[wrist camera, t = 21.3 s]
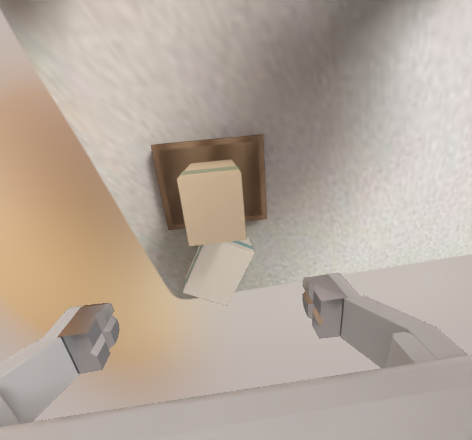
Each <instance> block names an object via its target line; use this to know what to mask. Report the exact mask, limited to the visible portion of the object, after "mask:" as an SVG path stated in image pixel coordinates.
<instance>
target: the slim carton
mask: <svg viewBox="0 0 472 440" xmlns="http://www.w3.org/2000/svg"><path fill="white" fill-rule="evenodd" d="M177 183H178V188H179V194H180V199H181V205H182V210H183V216H184V221H185V227H186V232H187V238H188V244H189V246H197V245H205V244H214V243H222V242H231V241H239V240H246V228H245V216H244V203H243V190H242V178H241V172H240V170H239V168H238V167H237V166H236V165H235V164H234V162H233V161H232V159H230V160H220V161H210V162H200V163H191V164H190V165H189V166H188V167H187V168H186V169H185V170H184V171H183V172H182V173H181V174H180V176H179V177H178V178H177Z"/></svg>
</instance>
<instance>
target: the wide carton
mask: <svg viewBox="0 0 472 440" xmlns="http://www.w3.org/2000/svg"><path fill="white" fill-rule="evenodd" d="M254 254H255V253H254V249H253V246H252V244H251V241H250V239H247V238H246V240H239V241H231V242H222V243H214V244H205V245H199V247H198V249H197V252H196V254H195V256H194V258H193V261H192V263H191V265H190V268H189V270H188V272H187V274H186V279H185V283H184V287H183V288H184V289H183V293H186V294H189V295H192V296H196V297H199V298H202V299H205V300H209V301H212V302H216V303H219V304H222V305H225V306H227V305H228V303H229V301H230V299H231V298H232V296H233V294H234V292H235V290H236V288H237V286H238V284H239V282H240V280H241V279H242V277H243V275H244V273H245V271H246V269H247V267H248V265H249V263H250V261H251V260H252V258H253V256H254Z"/></svg>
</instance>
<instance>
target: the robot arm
mask: <svg viewBox="0 0 472 440" xmlns="http://www.w3.org/2000/svg"><path fill="white" fill-rule="evenodd" d="M303 287H304V289H305V292H304V293H303V305H304V309H305V312H306V314H307V316H308V317H309V318H311V319H312V326H313V328H314V330H315V331H316V333H317V335H318V337H319V338H328V337H338V336H341V338H342V339H343V340H345V341H346V342H347V343H349V344H350V345H351V346H353V347H354V348H355V349H357V350H358V351H359V352H361V353H362V354H364V355H365V356H366V357H367V358H369V359H370V360H371V361H373V362H374V363H375V364H377V365H378V366H379V367H380V368H381V369H375V370H369V371H362V372H356V373H349V374H343V375H336V376H329V377H323V378H316V379H309V380H303V381H296V382H290V383H283V384H277V385H270V386H263V387H257V388H250V389H244V390H237V391H231V392H224V393H217V394H211V395H204V396H198V397H191V398H185V399H178V400H172V401H166V402H159V403H152V404H146V405H139V406H132V407H126V408H120V409H113V410H106V411H100V412H93V413H87V414H80V415H74V416H67V417H60V418H54V419H48V420H41V421H34V420H35V418H36V417H38V416H39V415H40V413H42V412H43V410H44V409H46V407H47V406H49V404H50V403H51V402H53V400H55V399H56V398H57V397H58V395H59V394H61V393H62V392H63V391H64V390H65V388H67V386H68V385H69V384H70V383H72V382H73V380H75V379H76V378H77V376H78V375H79V374H81V373H87V372H92V371H98V370H103V368H104V366H105V363H106V361H107V359H108V357H109V355H110V352H109V348H111V346H113V345H114V344H115V343H116V340H117V338H118V334H119V323H118V321H117V319H116V318H115V317H114V316H112V314H113V312H114V309H113V307H112V304H110V303H103V304H93V305H85V306H76V307H71V308H69V309H67V310H66V312H65V313H64V314H63V315H62V316H61V317H60V319H59V320H58V321H57V322H56V323H55V324H54V326H53V327H52V328H51V329H50V330H49V331H48V333H47V334H46V335H45V336H44V337H43V338H42V339H41V340H37V341H35V342H34V343H32V344H30V345H29V346H27V347H26V348H24V349H22V350H21V351H19V352H18V353H16V354H14V355H13V356H11V357H10V358H8V359H6V360H5V361H3V362H2V363H0V440H472V355H468V354H467V353H466V352H464V351H463V350H462V349H461V348H460V347H459V346H457V345H456V344H455V343H454V342H453V341H452V340H450V339H449V338H448V337H447V336H446V335H445V334H444V333H442V332H441V331H440V330H439V329H438V328H437V327H435V326H433V325H431V324H429V323H426V322H424V321H422V320H420V319H417V318H415V317H413V316H410V315H408V314H405V313H403V312H401V311H399V310H396V309H394V308H392V307H390V306H387V305H385V304H383V303H380V302H378V301H376V300H373V299H371V298H368V297H366V296H361V295H360V294H359V293H358V292H357V291H356V290H355V289H354V288H353V287H352V286H351V285H350V284H349V282H347V280H346V279H345V278H344V277H343V276H342V275H341V274H340V273H331V274H326V275H320V276H313V277H306V278H304V279H303ZM33 421H34V422H33Z"/></svg>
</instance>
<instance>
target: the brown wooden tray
mask: <svg viewBox="0 0 472 440" xmlns="http://www.w3.org/2000/svg"><path fill="white" fill-rule="evenodd" d="M151 149H152V153H153V158H154V163H155V168H156V172H157V177H158V182H159V187H160V191H161V196H162V201H163V206H164V211H165V215H166V220H167V225H168V230H173V229H182V228H186V227H185V221H184V216H183V210H182V205H181V199H180V194H179V188H178V183H177V178H178V177H179V176H180V174H181V173H182V172H183V171H184V170H185V169H186V168H187V167H188V166H189V165H190V164H191V163H200V162H210V161H220V160H230V159H232V161H233V162H234V164H235V165H236V166H237V167H238V168H239V170H240V172H241V178H242V190H243V203H244V216H245V221H252V220H261V219H267V211H266V188H265V164H264V141H263V135H251V136H240V137H229V138H219V139H208V140H198V141H187V142H177V143H166V144H156V145H151Z"/></svg>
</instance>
